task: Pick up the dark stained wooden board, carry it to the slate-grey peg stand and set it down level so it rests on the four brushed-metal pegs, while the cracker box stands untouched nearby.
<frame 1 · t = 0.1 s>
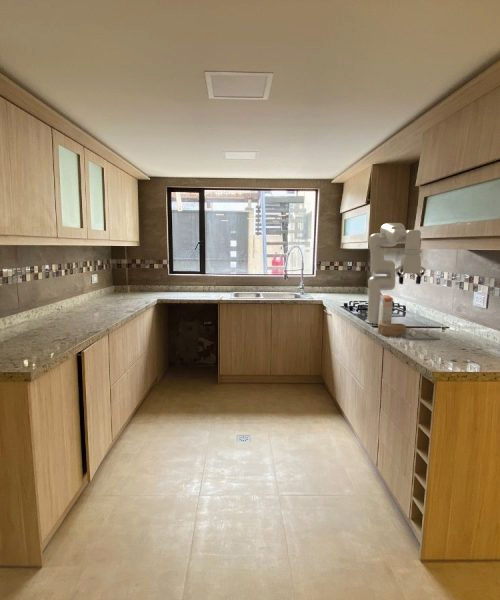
hand: (409, 283, 206), 31 cm above the worktop, tool pointing down, fingers open, 9 cm apart
peg stand: (419, 337, 214), on the worktop
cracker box: (384, 329, 234), on the worktop
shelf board: (391, 334, 221), on the worktop
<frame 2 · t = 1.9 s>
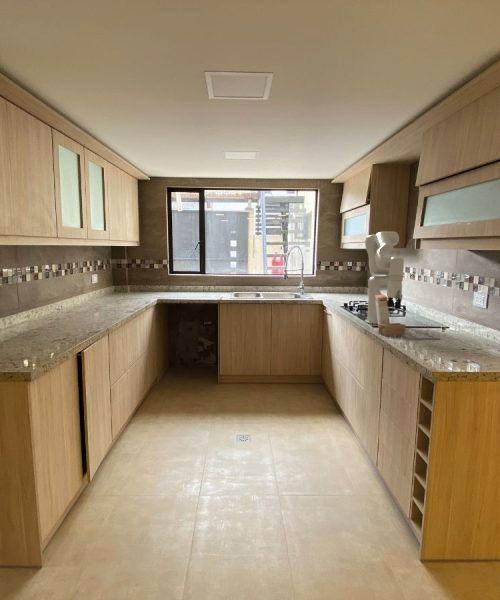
hand: (393, 307, 218), 16 cm above the worktop, tool pointing down, fingers open, 9 cm apart
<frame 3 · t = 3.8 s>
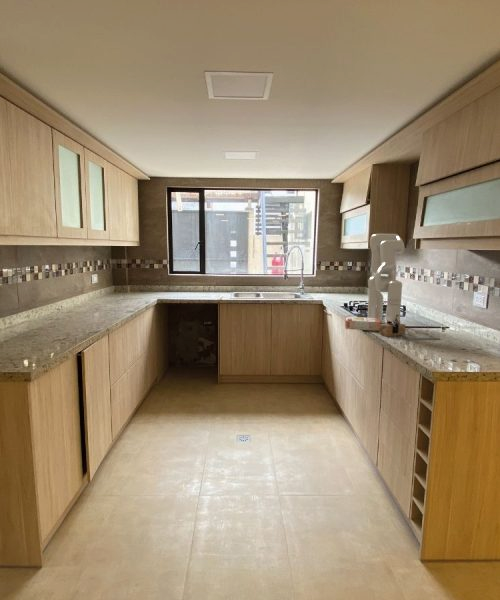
hand: (392, 331, 220), 2 cm above the worktop, tool pointing down, fingers closed on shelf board, 7 cm apart
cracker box: (379, 324, 234), point 3 cm above the worktop
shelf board: (391, 334, 220), on the worktop, touching gripper
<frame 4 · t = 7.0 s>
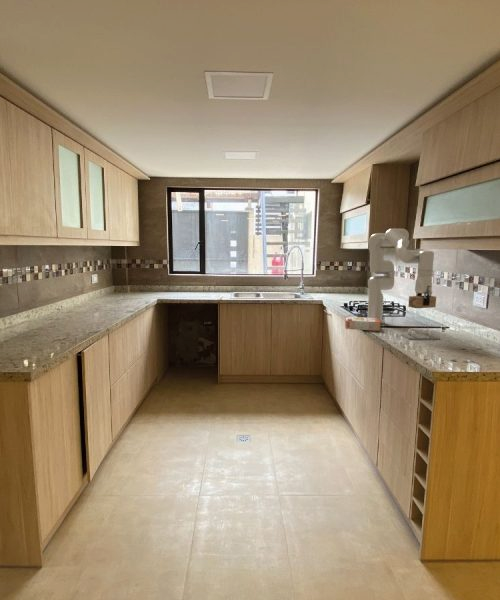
hand: (422, 304, 211), 19 cm above the worktop, tool pointing down, fingers closed on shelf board, 7 cm apart
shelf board: (421, 306, 211), point 18 cm above the worktop, touching gripper
everything else where it was.
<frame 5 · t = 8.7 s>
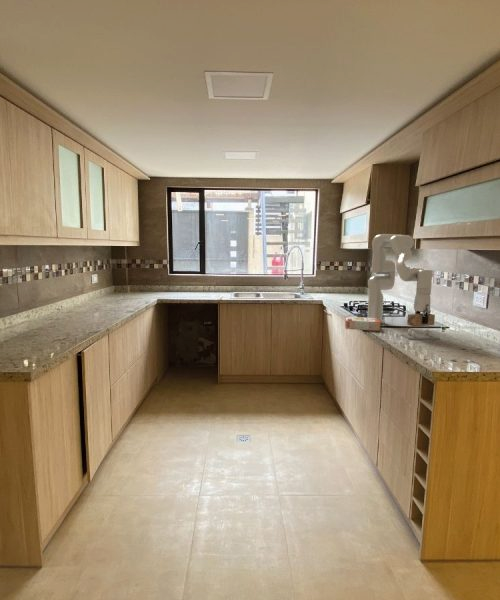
hand: (421, 322, 212), 9 cm above the worktop, tool pointing down, fingers closed on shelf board, 7 cm apart
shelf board: (420, 324, 212), point 7 cm above the worktop, touching gripper
everything else where it was.
when the fingers open (7 cm above the worktop, at t = 10.2 s): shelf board drops 1 cm, resting on peg stand.
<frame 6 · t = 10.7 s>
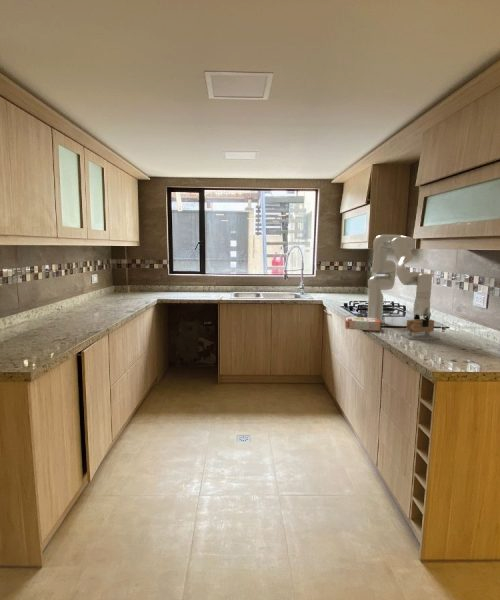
hand: (420, 324, 213), 7 cm above the worktop, tool pointing down, fingers open, 9 cm apart
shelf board: (419, 330, 213), point 4 cm above the worktop, touching peg stand
everything else where it was.
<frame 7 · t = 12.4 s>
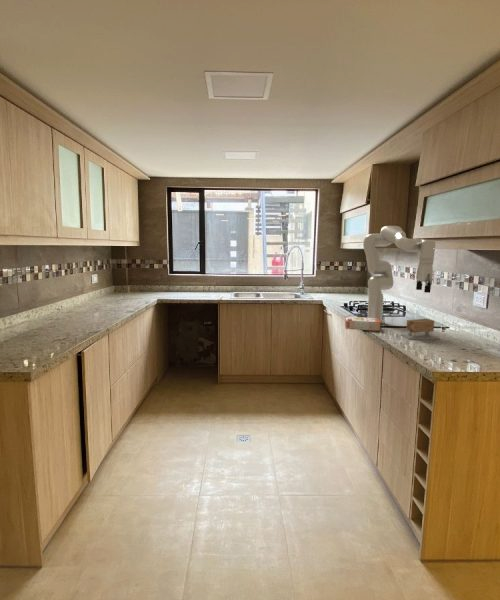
hand: (422, 291, 216), 26 cm above the worktop, tool pointing down, fingers open, 9 cm apart
nothing on the worktop moved.
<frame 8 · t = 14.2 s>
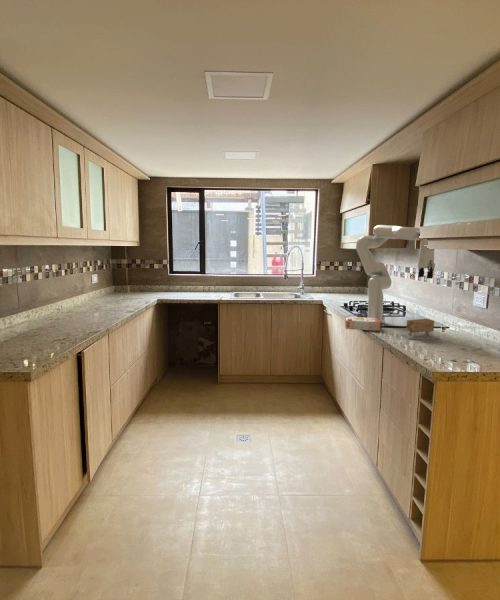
hand: (425, 277, 223), 33 cm above the worktop, tool pointing down, fingers open, 9 cm apart
nothing on the worktop moved.
at the end: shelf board 0.3 cm off-centre on the peg stand, point 4.0 cm above the peg stand's base; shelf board tilted 0°; the gripper is holding nothing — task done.
